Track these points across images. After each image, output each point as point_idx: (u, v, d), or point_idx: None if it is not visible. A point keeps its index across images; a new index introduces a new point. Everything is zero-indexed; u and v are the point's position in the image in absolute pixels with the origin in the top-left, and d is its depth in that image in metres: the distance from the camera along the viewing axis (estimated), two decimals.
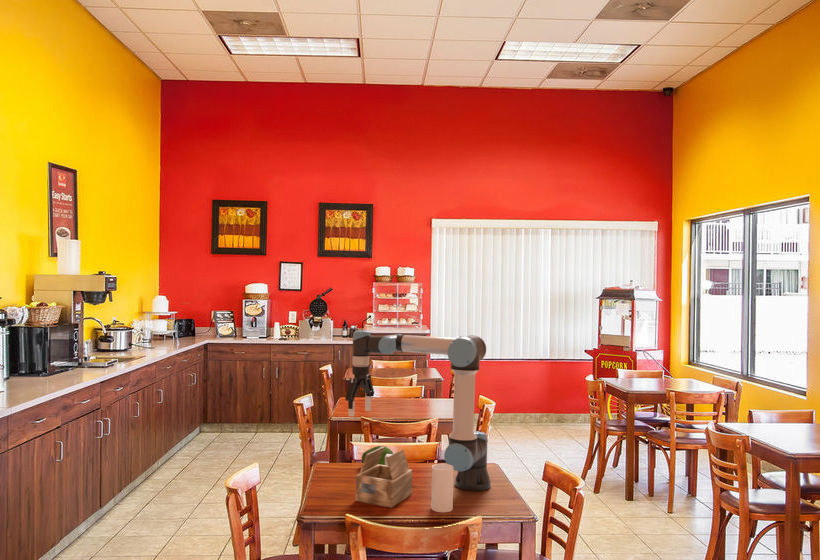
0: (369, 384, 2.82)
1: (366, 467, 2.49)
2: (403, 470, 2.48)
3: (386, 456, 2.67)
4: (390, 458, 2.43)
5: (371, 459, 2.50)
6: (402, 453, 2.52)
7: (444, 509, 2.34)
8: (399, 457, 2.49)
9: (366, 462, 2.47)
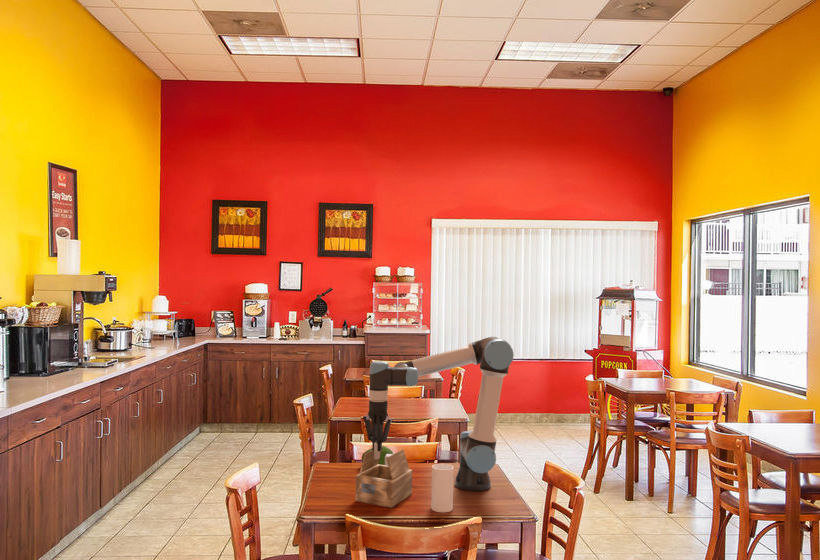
0: None
1: (366, 467, 2.49)
2: (403, 470, 2.48)
3: (386, 456, 2.67)
4: (390, 458, 2.43)
5: (370, 458, 2.50)
6: (402, 453, 2.52)
7: (444, 509, 2.34)
8: (399, 457, 2.49)
9: (365, 461, 2.47)
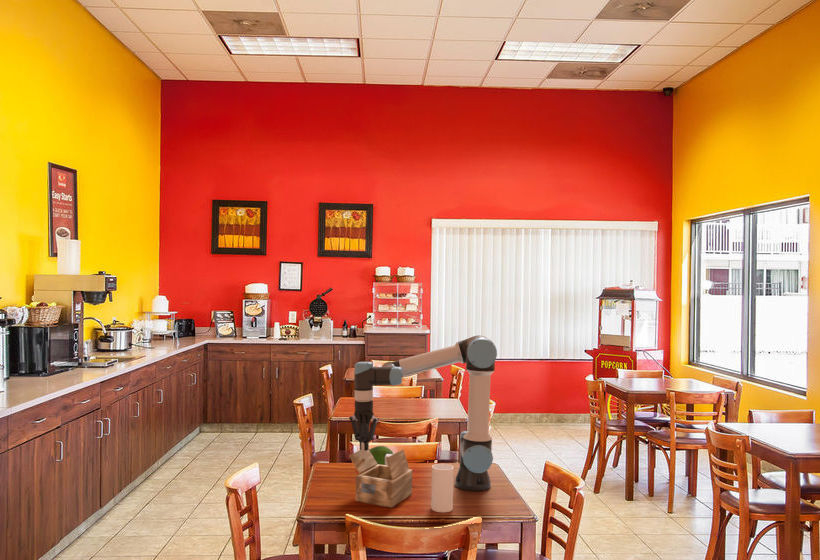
0: None
1: (362, 466, 2.49)
2: (403, 470, 2.48)
3: (386, 456, 2.67)
4: (390, 458, 2.43)
5: (361, 458, 2.52)
6: (402, 453, 2.52)
7: (444, 509, 2.34)
8: (399, 457, 2.49)
9: (356, 461, 2.49)
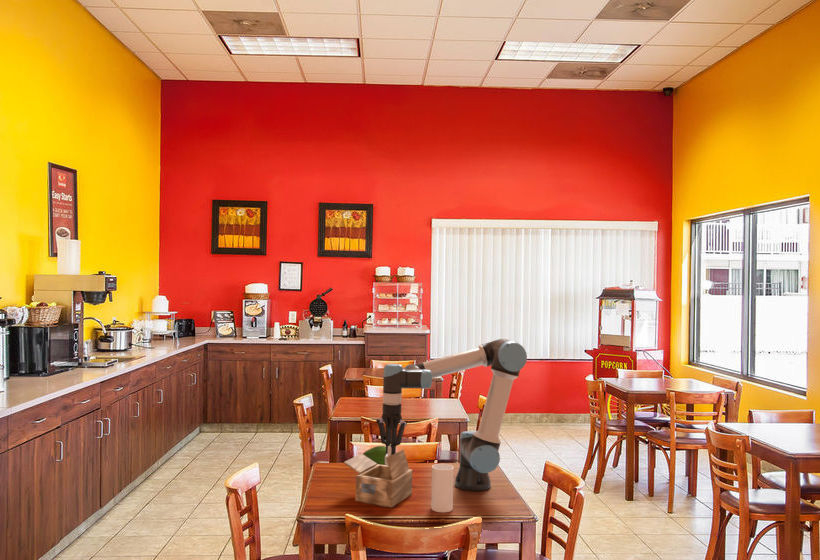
0: None
1: (360, 468, 2.50)
2: (403, 470, 2.48)
3: (386, 456, 2.67)
4: (390, 458, 2.43)
5: (357, 462, 2.53)
6: (402, 453, 2.52)
7: (444, 509, 2.34)
8: (399, 457, 2.49)
9: (353, 465, 2.49)
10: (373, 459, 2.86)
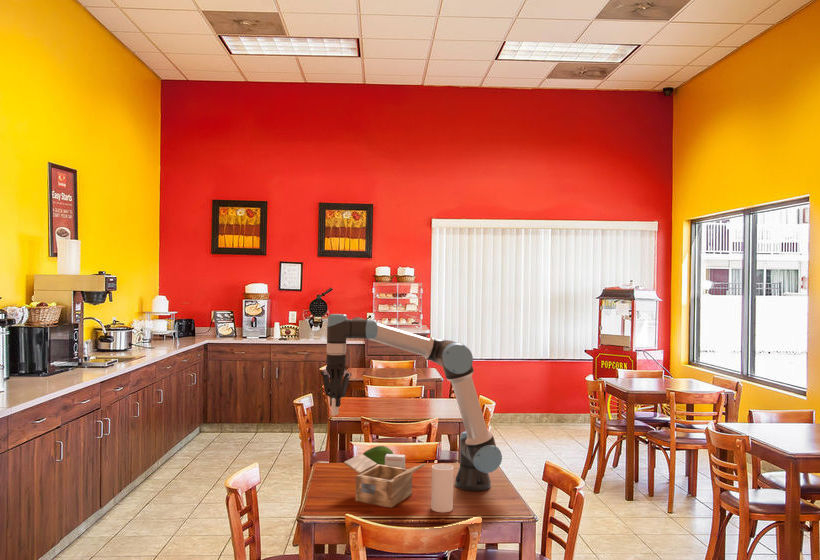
0: None
1: (360, 468, 2.50)
2: None
3: (386, 456, 2.67)
4: (411, 473, 2.39)
5: (357, 462, 2.53)
6: (421, 466, 2.48)
7: (444, 509, 2.34)
8: None
9: (353, 465, 2.49)
10: (373, 459, 2.86)
